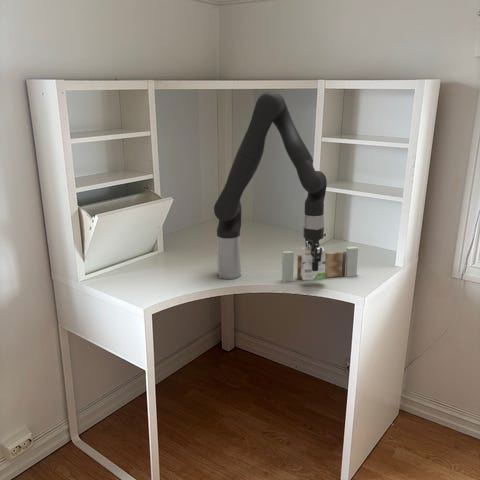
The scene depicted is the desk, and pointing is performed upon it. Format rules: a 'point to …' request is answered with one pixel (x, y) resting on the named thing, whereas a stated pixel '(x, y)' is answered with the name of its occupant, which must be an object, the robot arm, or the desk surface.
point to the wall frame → (289, 263)
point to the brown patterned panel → (329, 264)
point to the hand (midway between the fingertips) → (312, 267)
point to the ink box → (307, 265)
